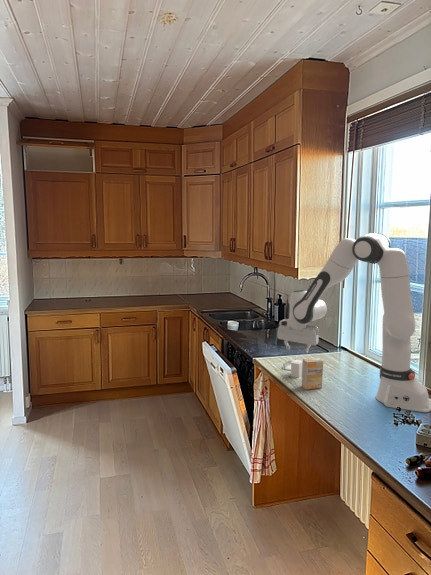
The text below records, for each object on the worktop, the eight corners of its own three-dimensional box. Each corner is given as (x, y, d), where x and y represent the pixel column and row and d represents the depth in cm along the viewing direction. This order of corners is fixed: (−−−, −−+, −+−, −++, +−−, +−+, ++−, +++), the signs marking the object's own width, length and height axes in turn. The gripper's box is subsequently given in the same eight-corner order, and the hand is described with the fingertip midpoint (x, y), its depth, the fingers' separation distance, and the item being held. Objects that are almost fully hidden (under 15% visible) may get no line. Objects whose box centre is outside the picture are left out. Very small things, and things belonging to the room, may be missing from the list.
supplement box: (306, 390, 200) (306, 362, 199) (301, 386, 205) (302, 358, 203) (322, 388, 203) (323, 360, 201) (317, 384, 207) (318, 357, 205)
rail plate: (303, 368, 230) (303, 363, 230) (297, 372, 224) (297, 367, 224) (288, 365, 235) (288, 360, 234) (282, 368, 229) (282, 364, 228)
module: (303, 374, 221) (304, 360, 220) (298, 378, 216) (299, 364, 215) (296, 373, 223) (296, 359, 222) (290, 376, 218) (291, 362, 217)
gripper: (321, 325, 212) (319, 353, 215) (282, 318, 224) (280, 345, 226) (316, 327, 207) (314, 356, 209) (276, 321, 218) (275, 348, 221)
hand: (296, 350), depth 218 cm, fingers open, 8 cm apart
